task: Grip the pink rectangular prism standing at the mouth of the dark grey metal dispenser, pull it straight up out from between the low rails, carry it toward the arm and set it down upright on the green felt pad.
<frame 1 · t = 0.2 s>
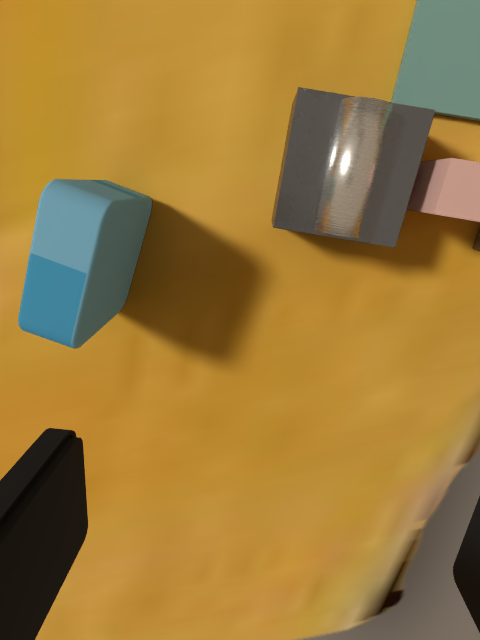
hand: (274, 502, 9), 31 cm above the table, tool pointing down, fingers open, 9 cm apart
dispenser: (446, 192, 35), on the table
data package: (118, 247, 38), on the table
pink rectangular prism: (446, 192, 35), on the table
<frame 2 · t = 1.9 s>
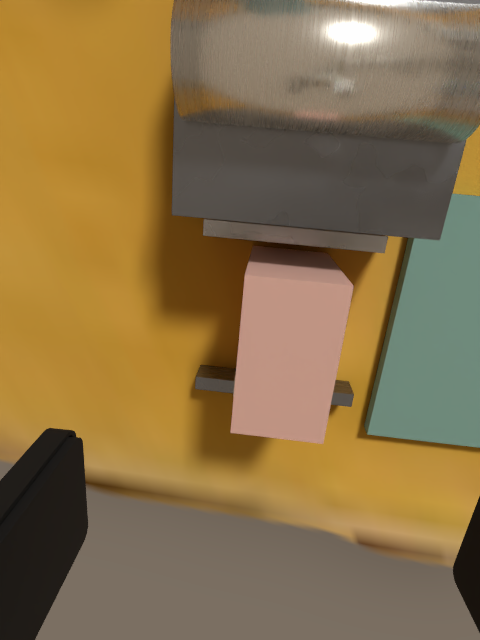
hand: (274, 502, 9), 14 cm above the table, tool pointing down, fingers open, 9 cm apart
dispenser: (282, 310, 22), on the table
pink rectangular prism: (282, 310, 22), on the table
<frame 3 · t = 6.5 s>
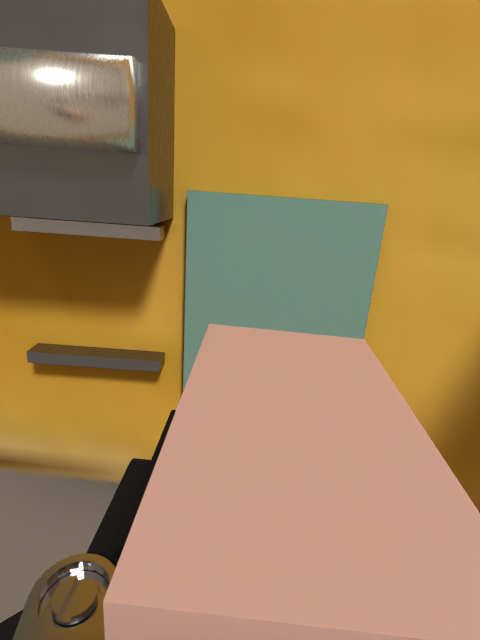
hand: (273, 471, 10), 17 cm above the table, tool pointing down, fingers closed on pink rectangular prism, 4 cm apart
pad: (275, 306, 26), on the table
dispenser: (98, 293, 26), on the table
pink rectangular prism: (271, 443, 11), point 15 cm above the table, touching gripper
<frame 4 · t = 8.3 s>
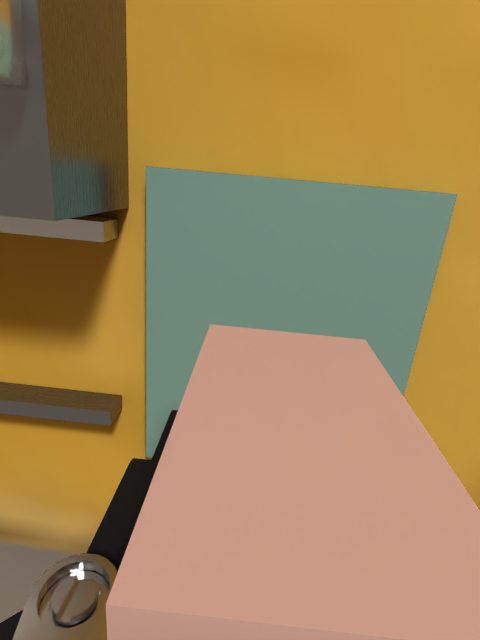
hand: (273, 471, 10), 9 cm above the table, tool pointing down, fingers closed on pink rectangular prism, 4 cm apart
pad: (277, 338, 18), on the table
dispenser: (27, 312, 18), on the table
pink rectangular prism: (272, 444, 11), point 7 cm above the table, touching gripper
when the fingers open (3 cm above the table, at t = 9.7 s): pink rectangular prism drops 1 cm, resting on pad.
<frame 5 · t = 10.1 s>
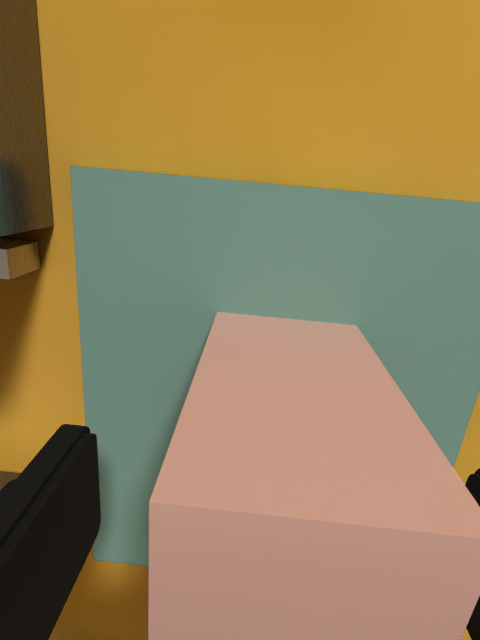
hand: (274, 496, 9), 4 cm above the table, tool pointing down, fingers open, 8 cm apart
pad: (270, 406, 13), on the table
pink rectangular prism: (272, 422, 12), point 1 cm above the table, touching pad
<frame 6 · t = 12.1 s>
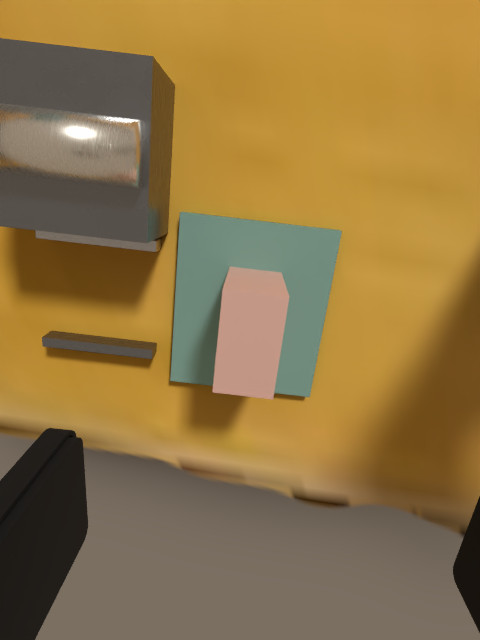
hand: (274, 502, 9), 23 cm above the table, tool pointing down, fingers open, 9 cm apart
pad: (249, 308, 31), on the table
dispenser: (103, 291, 31), on the table
pink rectangular prism: (250, 312, 30), point 1 cm above the table, touching pad
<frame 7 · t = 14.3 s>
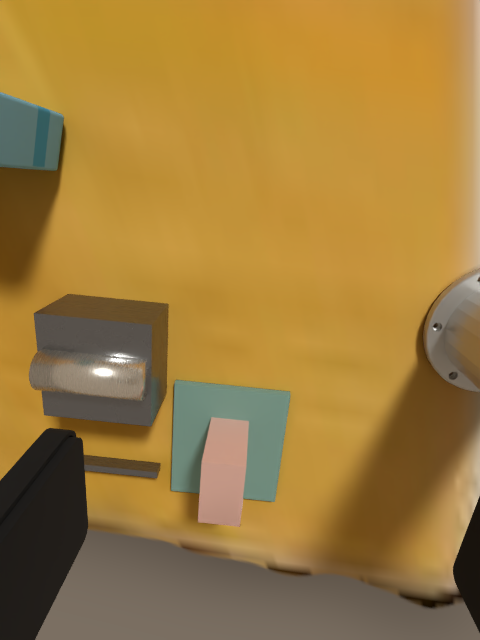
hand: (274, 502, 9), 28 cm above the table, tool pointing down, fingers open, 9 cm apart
pad: (227, 441, 42), on the table
dispenser: (121, 429, 43), on the table
data package: (1, 124, 33), on the table
pink rectangular prism: (227, 446, 42), point 1 cm above the table, touching pad
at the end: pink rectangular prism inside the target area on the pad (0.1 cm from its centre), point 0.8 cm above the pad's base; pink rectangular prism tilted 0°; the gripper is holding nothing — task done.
